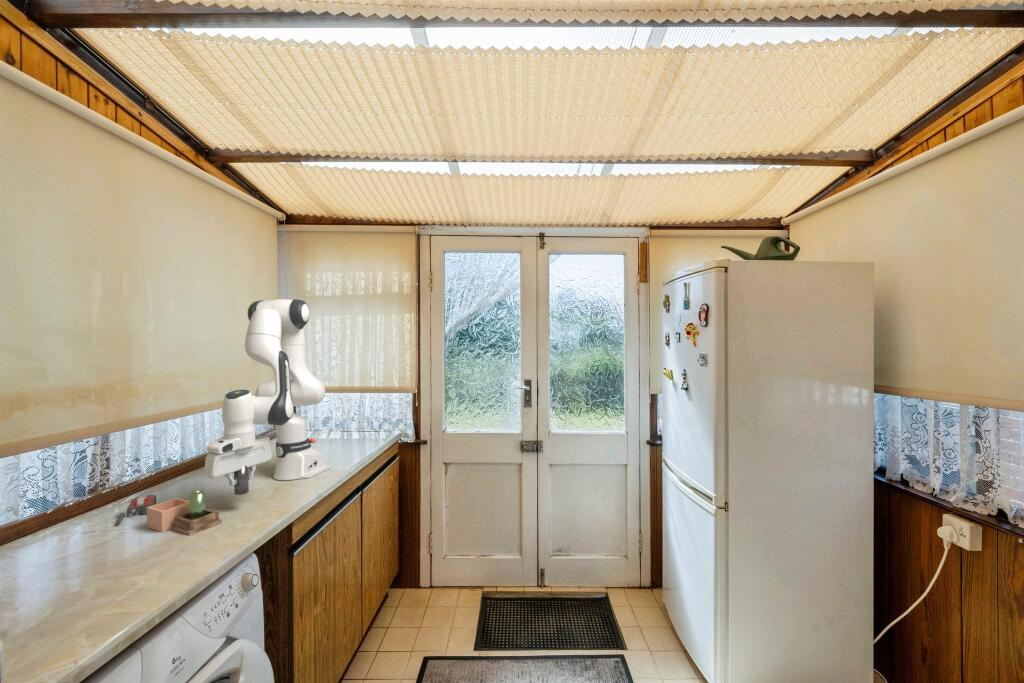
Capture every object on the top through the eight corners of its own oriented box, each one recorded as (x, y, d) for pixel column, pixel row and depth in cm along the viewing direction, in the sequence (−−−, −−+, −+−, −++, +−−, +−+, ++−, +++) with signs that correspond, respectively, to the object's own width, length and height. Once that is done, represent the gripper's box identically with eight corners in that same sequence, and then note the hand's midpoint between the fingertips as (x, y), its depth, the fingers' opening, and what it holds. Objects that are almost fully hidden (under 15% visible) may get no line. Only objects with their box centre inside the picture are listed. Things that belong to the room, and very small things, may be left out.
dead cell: (243, 489, 148) (242, 461, 147) (251, 491, 146) (250, 462, 145) (231, 493, 144) (230, 464, 144) (239, 495, 142) (238, 466, 142)
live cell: (200, 519, 135) (200, 487, 135) (208, 521, 134) (208, 489, 134) (186, 523, 132) (186, 491, 132) (193, 526, 130) (193, 494, 130)
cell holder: (204, 517, 139) (203, 506, 139) (221, 522, 135) (221, 511, 135) (171, 529, 131) (171, 517, 131) (189, 535, 127) (189, 523, 127)
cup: (177, 516, 140) (176, 497, 140) (192, 521, 136) (192, 501, 136) (147, 527, 133) (146, 507, 132) (162, 532, 129) (161, 511, 129)
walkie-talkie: (124, 507, 149) (113, 528, 133) (124, 494, 149) (113, 514, 133) (157, 501, 154) (151, 521, 138) (157, 488, 154) (150, 507, 138)
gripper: (263, 431, 155) (264, 470, 156) (200, 447, 136) (202, 491, 137) (275, 433, 152) (276, 473, 153) (213, 450, 134) (215, 495, 134)
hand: (241, 482), depth 145 cm, fingers closed on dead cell, 4 cm apart
